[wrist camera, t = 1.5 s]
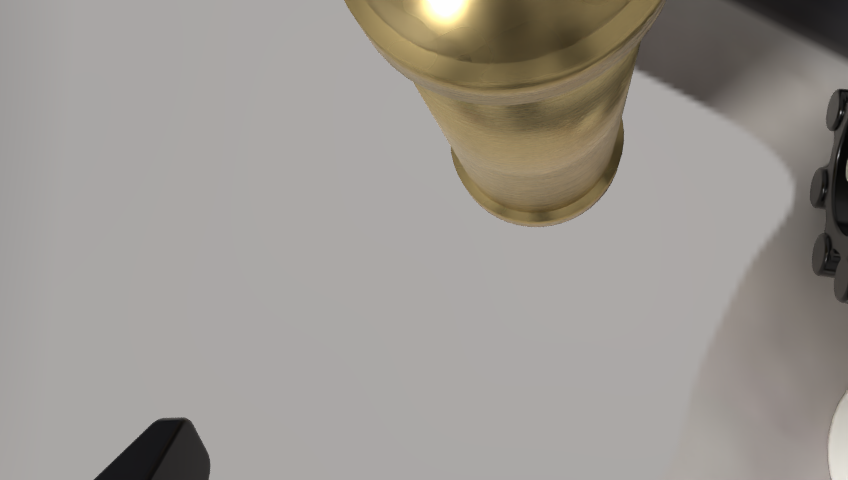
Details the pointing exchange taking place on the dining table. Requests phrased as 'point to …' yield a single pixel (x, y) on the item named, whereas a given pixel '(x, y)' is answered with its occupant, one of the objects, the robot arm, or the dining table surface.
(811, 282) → the dining table surface
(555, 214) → the gold tall rounded piece
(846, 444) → the gap pad
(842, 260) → the valve
